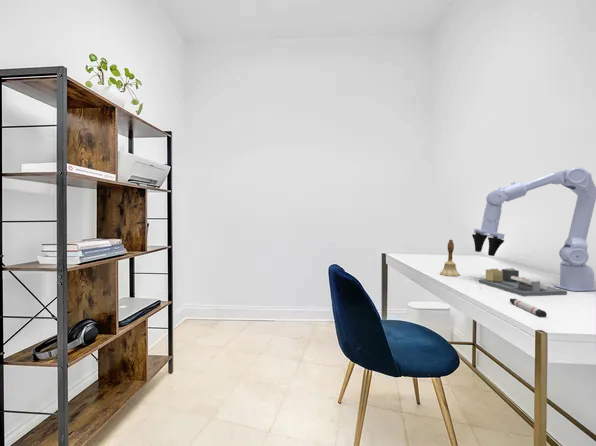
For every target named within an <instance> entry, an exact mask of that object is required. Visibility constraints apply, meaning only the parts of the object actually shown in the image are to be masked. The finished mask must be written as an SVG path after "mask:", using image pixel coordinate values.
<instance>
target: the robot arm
mask: <svg viewBox="0 0 596 446" xmlns="http://www.w3.org/2000/svg"><path fill="white" fill-rule="evenodd" d="M551 184H552V185H562V186H563V187H565V188H567V189H570V190H571V191H572V192H573V193H574V194H576V196H577V197H576V202H575V207H574V210H573V214H572V215H573V216H572V220H571V224H570V228H569V232H568V236H567V238H566V240H565V241H564V244H563V246H562V247H561V248H560V250H559V253H558V255H559V258H560V259H561V262H560V269H559V272H560V273H559V275H560V276H559V284H555V285H554V284H553V288H557V289H561V290H565V291H571V292H588V291H591V292H592V291H596V288H594V285H595V284H594V283H595V281H594V280H595V272H594V269H593V268H592V267H591V266H590V265H588V264H586V263H587V262H588V260H589V256H590V255H589V253H588V242H587V238H588V233H589V229H590V225H591V221H592V217H593V213H594V208H595V204H596V184H595V182H594V180H593V178H592V173H590V172H589V171H588V170H586V169H585V168H583V167H580V166H576V167H572V168H570V169H563V170H560V171H555V172H552V173H549V174H546V175H544V176H541V177H538V178H535V179H533V180H530V181H528V182H525V183H522V182H518V181H517V182H516V181H513V182H511V183H510V184H509V185H507V186H503V187H497V189H495V190H493V191H491V192H489V193H488V194H487V196H486V197H485V200H486V204H485V208H484V213H483V218H482V222H481V227H480V229H479V228H474V229H473V230H474V231H473V233H474V234H471V237H472V238H473V241H474V242H473V243H474V252H476V253H482V250H483V248H484V247H483V246H484V244H485V241H486V240H488V251H487V256H490V257H494V256H495V255H496V253H497V251H498V249H499V248H500V247H501V245H502V244H503V243H504V242H505V240H504V239H505V235H506V234H505V233H500V232H498V229H499V225H500V224H499V223H500V220H501V215H502V206H503V204H504V202H511V201H513V200H515V199H518V198H519V199H520V198H522V197H525V196H526V195H527V193H528V191H532V190H534V189H537V188H541V187H543V186H547V185H551Z"/></svg>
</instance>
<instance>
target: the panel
mask: <svg viewBox="0 0 596 446" xmlns="http://www.w3.org/2000/svg"><path fill="white" fill-rule="evenodd" d="M523 278H524V279H526V277H523ZM478 283H479V284H482V285H486V286H490V287H492V288H495V289H499V290H503V291H505V292H509V293H513V294H515V295H518V296H521V297H537V296H562V295H563V296H566V295H567V294H568V290H566V289H562V288H558V287H554V286H553V287H552V286H548V285H546V286H547V290H546V289H543V288H540V284H541V281H540V280H538V281H536V280H535V281H534V280H533V281H532V285H529V284H525V283H522V282H520V281H507V280H503V279H502V281H500V282H492V281H489V280H486V278H485V279H482V278H481V279H478Z"/></svg>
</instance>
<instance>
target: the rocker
mask: <svg viewBox="0 0 596 446" xmlns="http://www.w3.org/2000/svg"><path fill="white" fill-rule="evenodd" d="M524 278H525V277H520V276H519V277H516V276H511V279H514V280H517V281H520V282H522V283H525V284H529V285H532V281H531V280H529V279H527V278H525V279H524ZM547 286H548V285H546V284H542V283H540V288H543V289H546V290H547Z"/></svg>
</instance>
